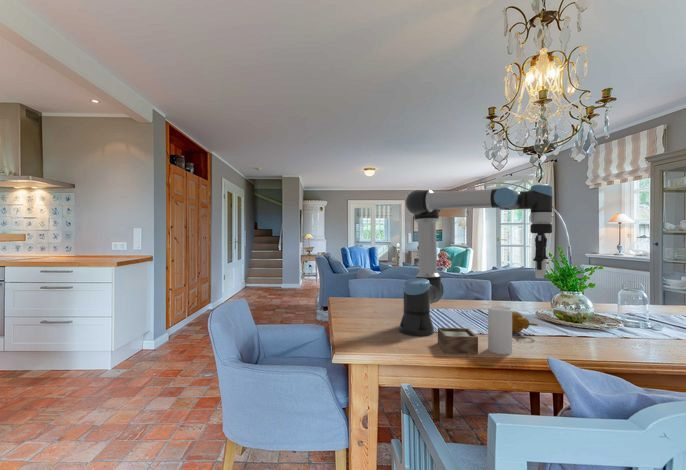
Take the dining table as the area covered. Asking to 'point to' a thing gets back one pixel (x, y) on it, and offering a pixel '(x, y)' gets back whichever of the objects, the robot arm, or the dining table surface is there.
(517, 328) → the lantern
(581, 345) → the dining table surface
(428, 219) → the robot arm
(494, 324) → the cup
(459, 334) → the brown wooden square box
